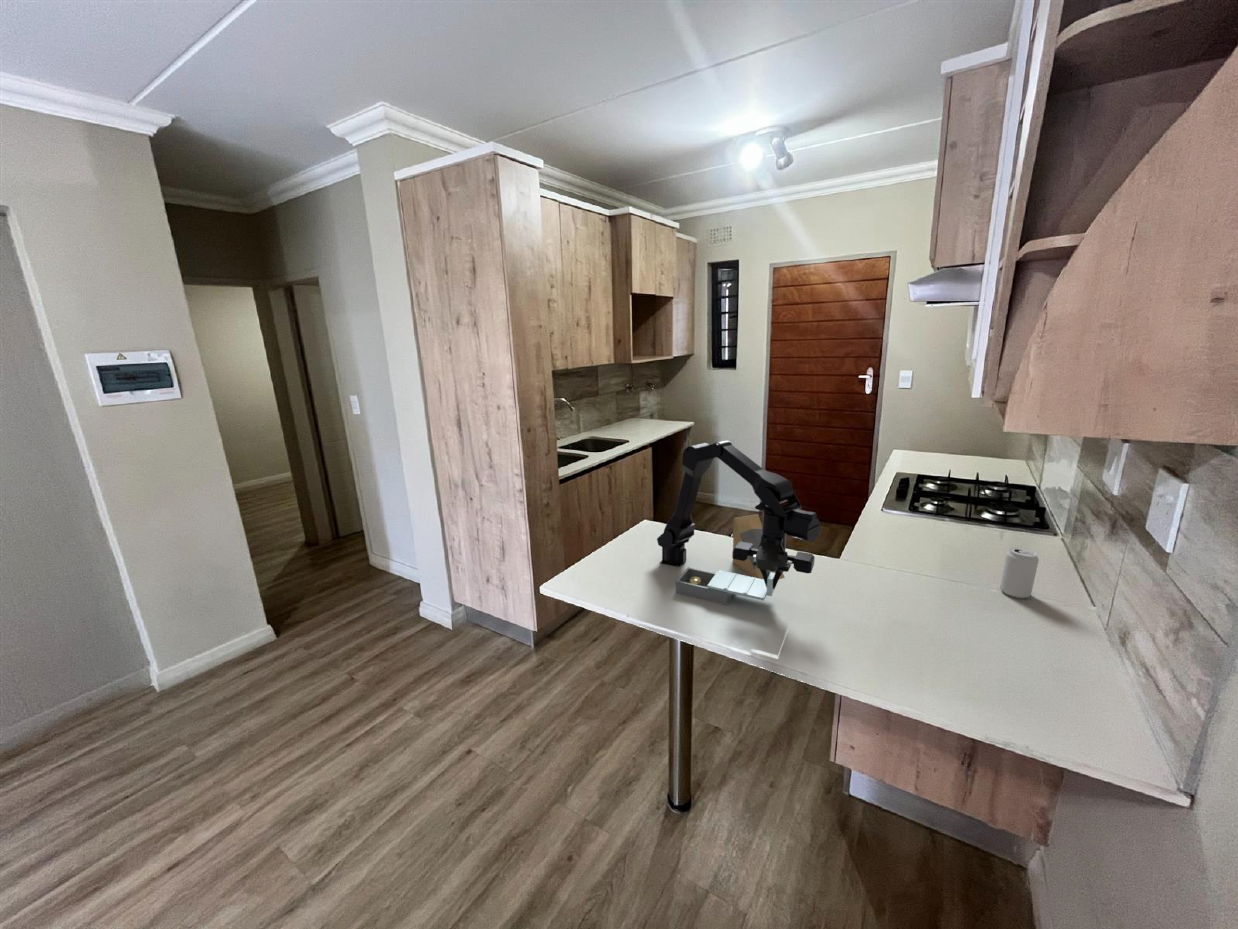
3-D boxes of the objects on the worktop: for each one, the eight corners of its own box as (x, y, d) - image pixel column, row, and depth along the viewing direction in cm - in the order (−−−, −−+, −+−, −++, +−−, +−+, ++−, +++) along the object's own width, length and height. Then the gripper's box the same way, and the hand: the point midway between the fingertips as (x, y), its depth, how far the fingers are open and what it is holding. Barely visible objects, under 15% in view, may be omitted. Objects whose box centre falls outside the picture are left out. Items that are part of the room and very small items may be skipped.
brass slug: (687, 590, 131) (688, 580, 130) (691, 585, 133) (692, 575, 132) (698, 593, 129) (698, 582, 128) (702, 588, 132) (702, 578, 131)
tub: (675, 594, 130) (675, 581, 129) (687, 580, 137) (688, 567, 136) (726, 607, 123) (727, 593, 122) (736, 591, 131) (737, 577, 130)
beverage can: (1001, 584, 130) (1009, 544, 127) (1032, 593, 126) (1041, 551, 123) (997, 593, 126) (1005, 551, 123) (1028, 602, 121) (1038, 559, 118)
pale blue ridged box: (707, 587, 124) (707, 571, 123) (718, 572, 132) (718, 556, 131) (768, 602, 117) (769, 584, 116) (776, 584, 125) (777, 568, 124)
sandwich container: (761, 586, 133) (764, 536, 129) (731, 563, 147) (733, 517, 143) (787, 581, 136) (790, 531, 132) (755, 558, 150) (757, 513, 146)
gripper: (726, 535, 115) (725, 594, 118) (810, 549, 106) (805, 612, 110) (739, 519, 124) (737, 574, 128) (817, 531, 115) (812, 590, 119)
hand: (770, 587), depth 121 cm, fingers closed on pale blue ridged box
